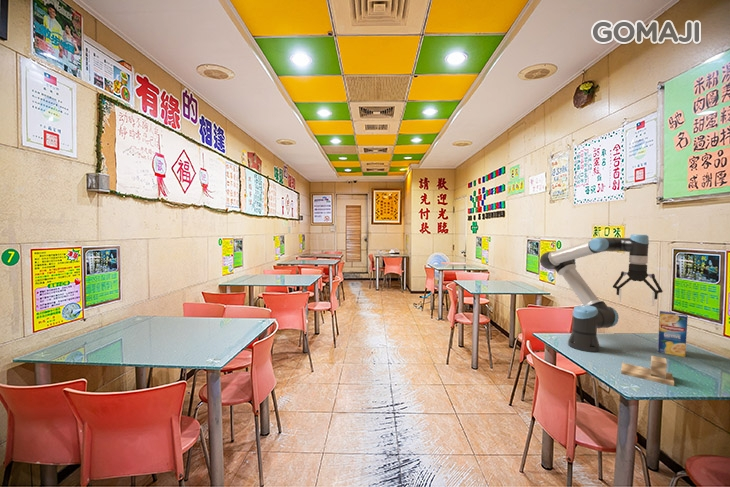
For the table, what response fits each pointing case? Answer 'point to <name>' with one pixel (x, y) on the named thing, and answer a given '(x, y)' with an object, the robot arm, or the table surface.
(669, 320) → the blue food box
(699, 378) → the table surface
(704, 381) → the table surface
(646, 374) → the board
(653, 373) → the block
